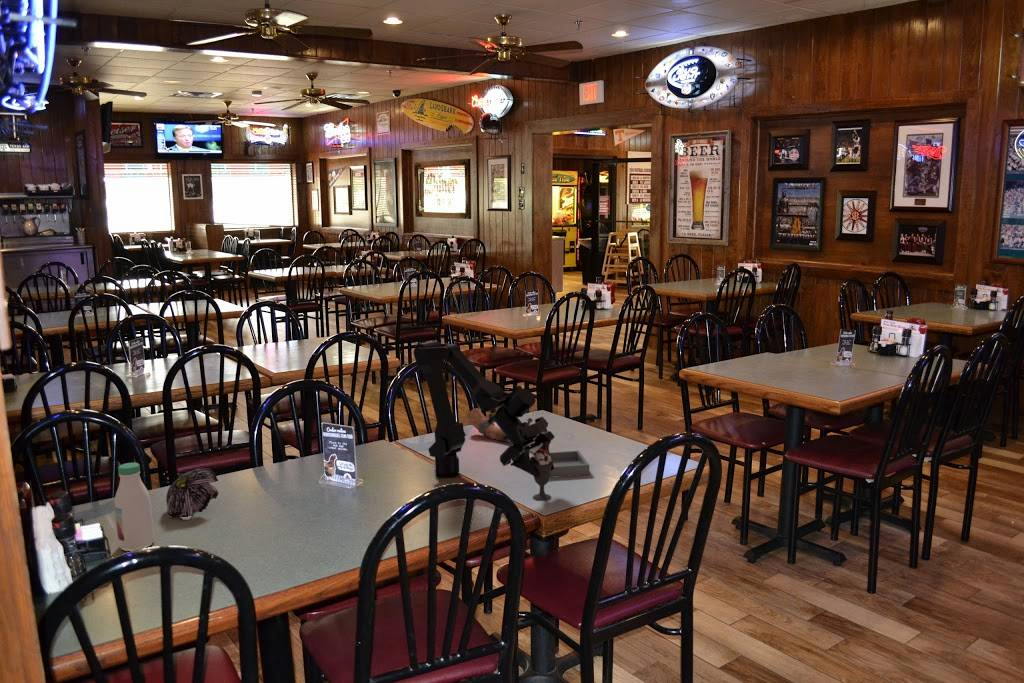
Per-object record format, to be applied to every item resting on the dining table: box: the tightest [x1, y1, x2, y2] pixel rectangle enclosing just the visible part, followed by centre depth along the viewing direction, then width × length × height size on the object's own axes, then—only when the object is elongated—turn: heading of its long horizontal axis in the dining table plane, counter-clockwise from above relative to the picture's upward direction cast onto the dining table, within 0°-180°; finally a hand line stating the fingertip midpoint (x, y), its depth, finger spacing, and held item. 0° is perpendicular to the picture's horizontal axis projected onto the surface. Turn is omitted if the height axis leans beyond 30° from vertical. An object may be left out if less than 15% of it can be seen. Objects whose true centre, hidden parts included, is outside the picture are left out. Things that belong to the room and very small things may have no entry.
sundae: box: [529, 442, 554, 502], centre depth 222 cm, size 7×7×15 cm
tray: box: [549, 450, 590, 478], centre depth 246 cm, size 14×14×3 cm
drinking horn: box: [465, 407, 534, 442], centre depth 274 cm, size 5×29×10 cm, turn 46°
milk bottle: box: [114, 462, 155, 550], centre depth 195 cm, size 8×8×20 cm
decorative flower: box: [165, 467, 219, 518], centre depth 218 cm, size 15×12×15 cm
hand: (546, 473), depth 221 cm, fingers closed on sundae, 6 cm apart
